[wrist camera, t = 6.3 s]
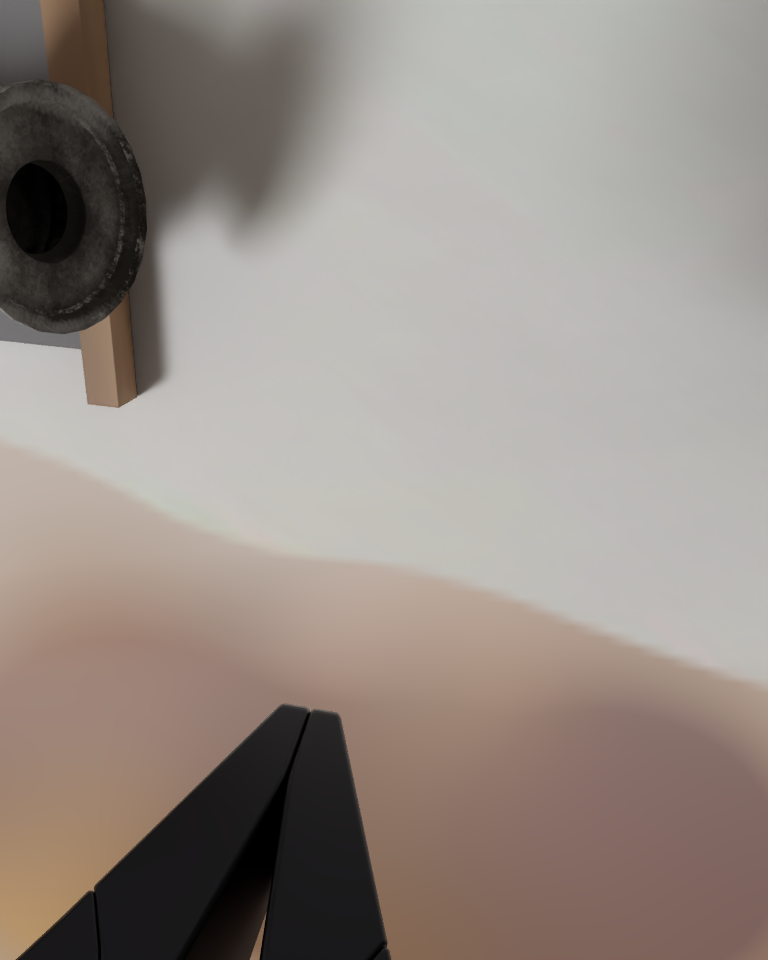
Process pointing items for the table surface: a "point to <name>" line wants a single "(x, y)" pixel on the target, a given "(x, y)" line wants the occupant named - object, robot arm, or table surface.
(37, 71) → the mat
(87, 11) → the kerb
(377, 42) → the table surface
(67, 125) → the stone baluster finial
